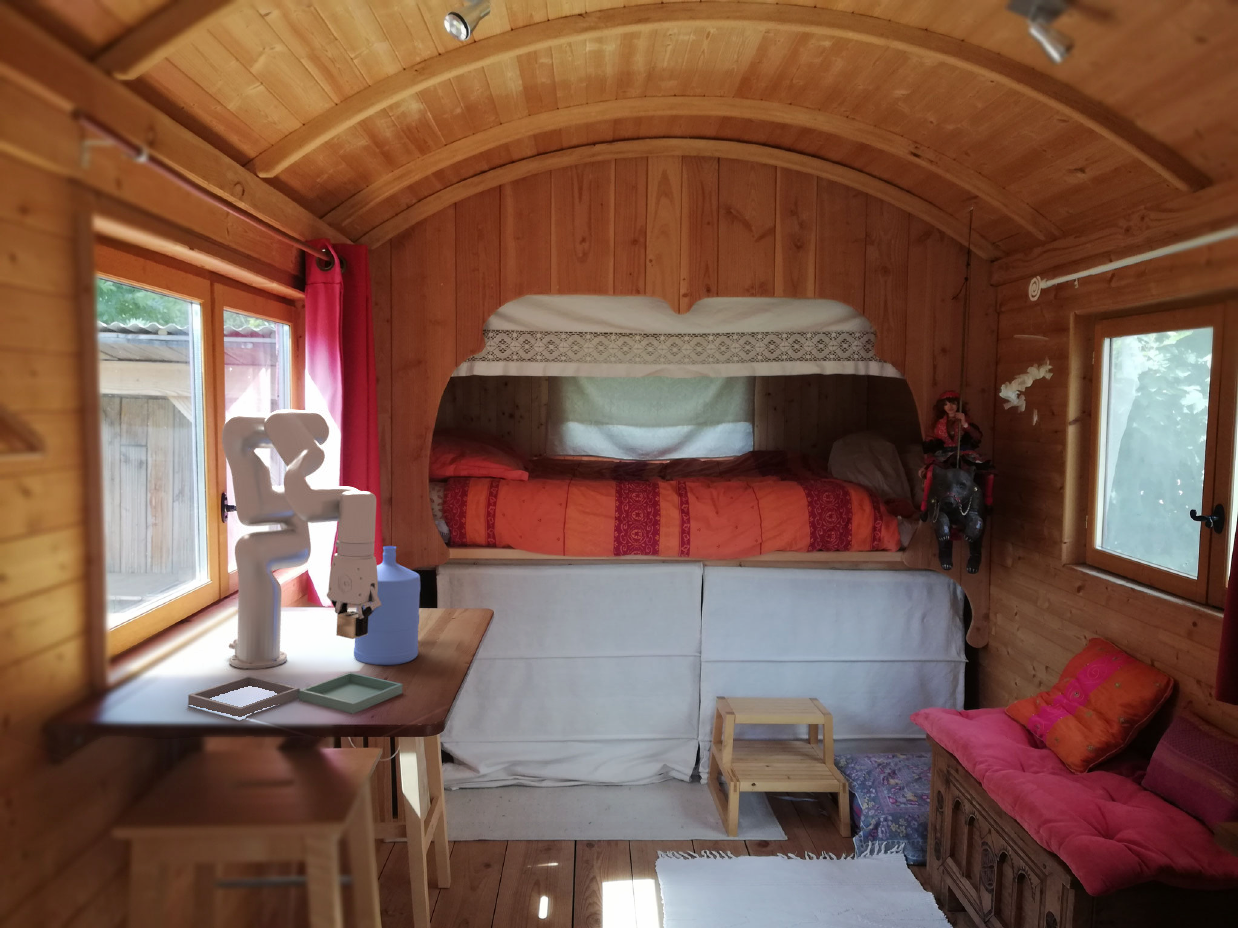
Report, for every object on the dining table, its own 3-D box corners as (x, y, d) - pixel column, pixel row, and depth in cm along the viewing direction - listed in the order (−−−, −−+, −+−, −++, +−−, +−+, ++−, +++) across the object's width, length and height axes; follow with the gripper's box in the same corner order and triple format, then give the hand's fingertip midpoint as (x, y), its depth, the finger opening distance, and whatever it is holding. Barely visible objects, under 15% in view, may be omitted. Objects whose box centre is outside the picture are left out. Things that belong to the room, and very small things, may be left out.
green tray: (298, 701, 176) (299, 690, 176) (350, 682, 190) (350, 671, 190) (353, 715, 170) (353, 703, 170) (402, 694, 183) (402, 683, 183)
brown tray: (188, 706, 170) (188, 694, 170) (249, 686, 184) (249, 675, 184) (240, 720, 164) (240, 708, 164) (299, 699, 177) (299, 688, 177)
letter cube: (336, 635, 178) (337, 613, 178) (351, 630, 182) (352, 609, 182) (352, 638, 176) (353, 617, 176) (367, 634, 180) (368, 613, 180)
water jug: (429, 659, 210) (433, 549, 208) (372, 670, 199) (376, 554, 197) (398, 645, 221) (401, 540, 219) (342, 654, 210) (345, 544, 208)
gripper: (313, 546, 178) (309, 629, 179) (374, 557, 171) (370, 644, 172) (338, 541, 185) (335, 622, 186) (398, 552, 178) (394, 636, 179)
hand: (352, 632), depth 179 cm, fingers closed on letter cube, 4 cm apart
